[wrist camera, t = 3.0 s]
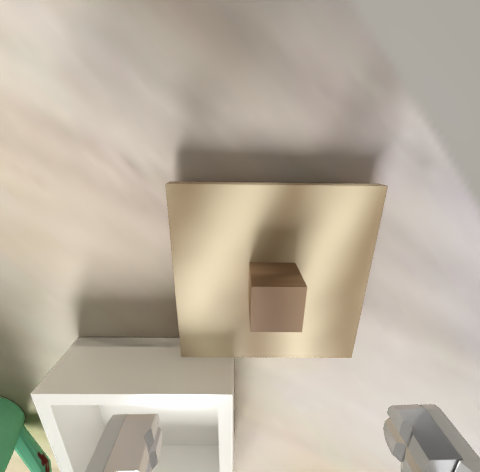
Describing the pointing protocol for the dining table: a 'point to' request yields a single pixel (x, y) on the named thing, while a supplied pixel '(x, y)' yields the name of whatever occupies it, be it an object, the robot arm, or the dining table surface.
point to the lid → (271, 266)
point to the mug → (19, 439)
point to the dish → (139, 401)
